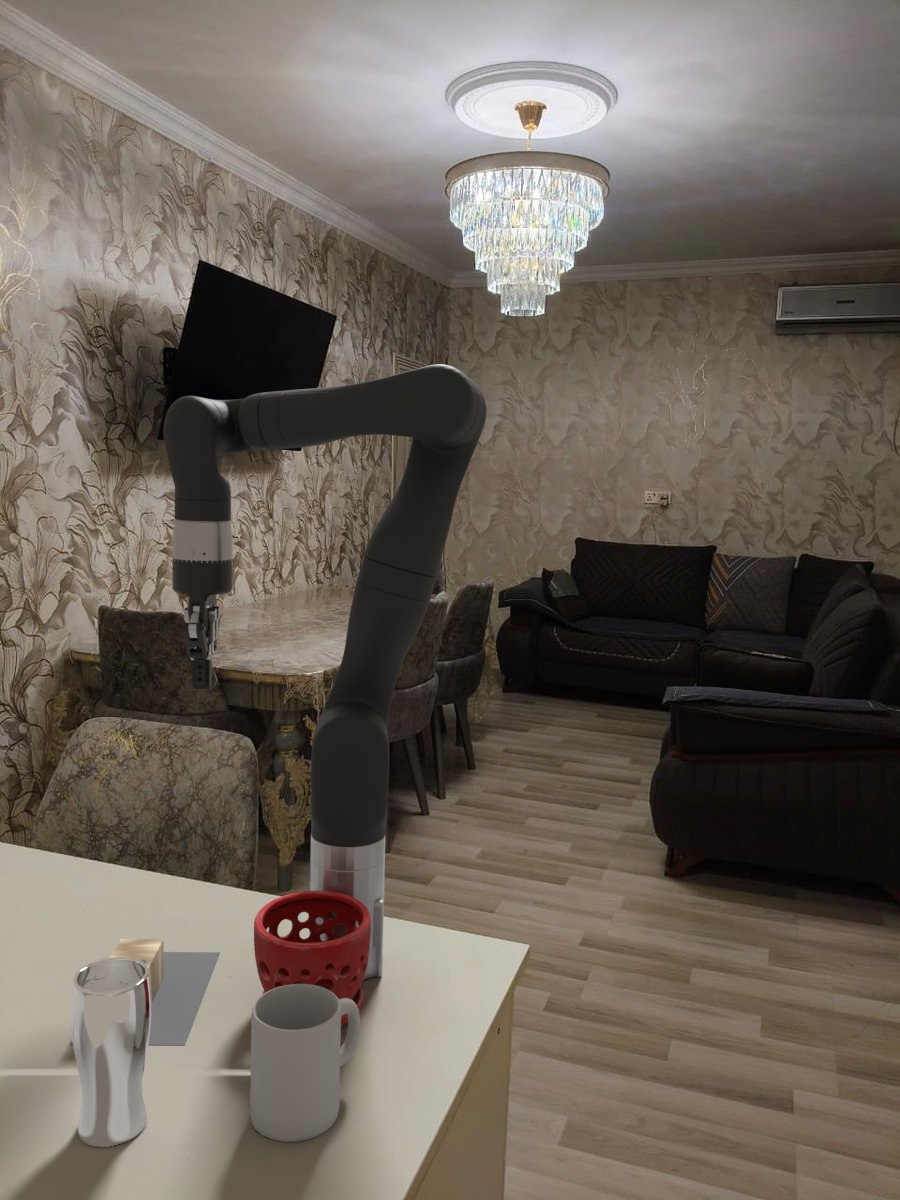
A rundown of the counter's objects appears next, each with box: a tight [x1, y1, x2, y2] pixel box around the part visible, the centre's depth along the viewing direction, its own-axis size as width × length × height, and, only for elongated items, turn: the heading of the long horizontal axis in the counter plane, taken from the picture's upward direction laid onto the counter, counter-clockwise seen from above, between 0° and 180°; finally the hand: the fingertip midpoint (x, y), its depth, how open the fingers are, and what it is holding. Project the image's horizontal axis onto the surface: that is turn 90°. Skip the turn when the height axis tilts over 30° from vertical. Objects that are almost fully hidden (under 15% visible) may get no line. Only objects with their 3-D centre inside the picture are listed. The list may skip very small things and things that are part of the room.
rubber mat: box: [69, 951, 221, 1046], centre depth 111 cm, size 12×20×1 cm, turn 3°
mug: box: [249, 984, 361, 1143], centre depth 92 cm, size 12×8×11 cm
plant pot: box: [253, 890, 371, 1027], centre depth 108 cm, size 13×13×12 cm
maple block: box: [109, 938, 164, 1004], centre depth 108 cm, size 5×5×12 cm
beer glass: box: [70, 957, 151, 1148], centre depth 88 cm, size 7×7×15 cm
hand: (202, 687), depth 124 cm, fingers closed
